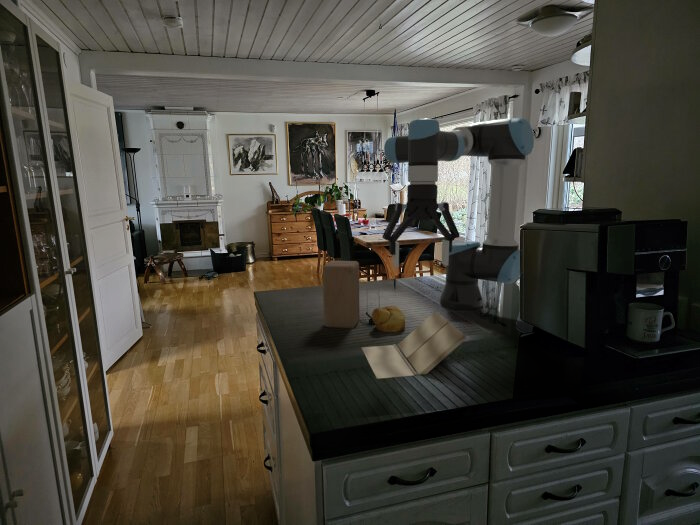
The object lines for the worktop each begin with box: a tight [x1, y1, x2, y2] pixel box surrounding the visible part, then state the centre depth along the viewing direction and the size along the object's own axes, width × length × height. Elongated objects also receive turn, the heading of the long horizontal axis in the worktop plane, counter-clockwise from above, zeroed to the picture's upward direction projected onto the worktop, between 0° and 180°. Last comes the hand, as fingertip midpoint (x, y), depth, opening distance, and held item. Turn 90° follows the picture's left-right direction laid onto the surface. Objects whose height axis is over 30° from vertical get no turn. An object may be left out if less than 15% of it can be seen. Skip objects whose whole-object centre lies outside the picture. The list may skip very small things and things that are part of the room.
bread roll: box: [371, 305, 406, 333], centre depth 134 cm, size 13×10×8 cm
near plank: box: [407, 321, 467, 376], centre depth 105 cm, size 14×9×1 cm
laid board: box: [360, 344, 418, 380], centre depth 108 cm, size 10×19×1 cm, turn 9°
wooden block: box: [322, 260, 360, 329], centre depth 138 cm, size 10×10×20 cm
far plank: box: [397, 311, 449, 359], centre depth 114 cm, size 14×9×1 cm
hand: (420, 266), depth 113 cm, fingers open, 13 cm apart
